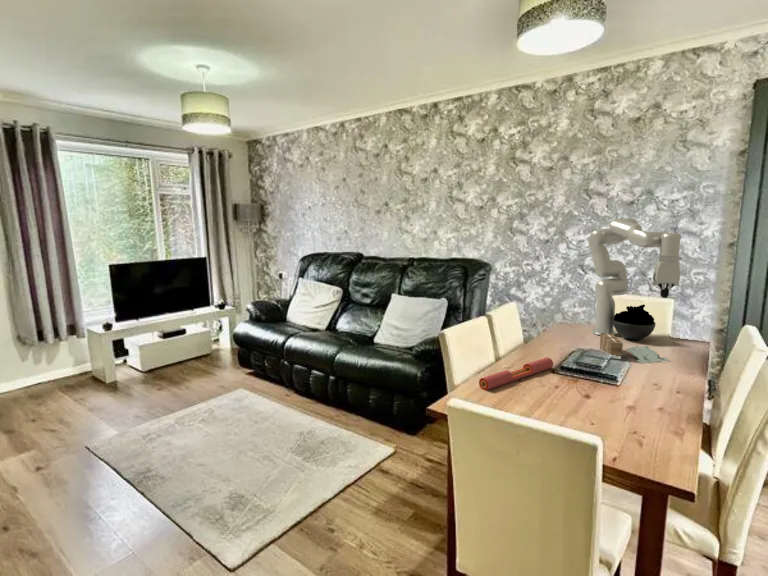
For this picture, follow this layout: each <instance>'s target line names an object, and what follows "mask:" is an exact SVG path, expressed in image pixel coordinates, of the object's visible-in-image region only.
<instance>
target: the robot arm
mask: <svg viewBox="0 0 768 576" xmlns="http://www.w3.org/2000/svg"><path fill="white" fill-rule="evenodd" d="M681 237H682V236H681V234H680V233H676V232H667V231H644V230H643V228H642V226H641V225H640V224H639V223H638V221H637V220H636V219H634V218H615V219H612V220H611V221H610V223H609V225H608V228H601V229H595V230H594V231H592V232H591V233H590V234H589V237H588V246H589V249H590V252H591V255H592V260H593V266H594V271H595V274H596V276H597V277H599V278H605V279H600V280H598V281H597V282H596V283H595V286H594V289H595V295H596V297H595V299H596V303H595V304H596V305H595V326H594V329H592V330H591V334H593V335H595V336H600V337H601V333H612V334H613V335H614V336H615V337H616V336H617V333H618V332H617V331H616V330H615V327H614V325H613V319H614V316H615V314H616V302H615V300H614V298H613V296H623V295H626V294H627V293H628V291H629V281H628V276H627V271H626V266H625V265H624V262H622V261H621V260H619V259H618V260H617V259H611V256H610V252H609V251H608V249H607V247H606V246H605V245H615V244H620V243H622V242H624V241H625V240H628V241H629V242H630V243H631V244H632V245H633V246H637V247H640V248H645V249H646V248H647V249H648V248H649V249H650V248H660V249H659V257H658V261H656V263H655V266H654V268H653V269H654V270H653V274H652V285H654V286H658V287H659V289H660V292H659V293H660V297H661V298H663V299H667V298H668V297H669V295H670V290H671V289H672V288H673V287H677V286H680V283H679V282H680V278H681V266H680V262H679V261H681V260H682V259H683V258H682V257H681V256H680V247H681V239H682V238H681Z"/></svg>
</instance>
